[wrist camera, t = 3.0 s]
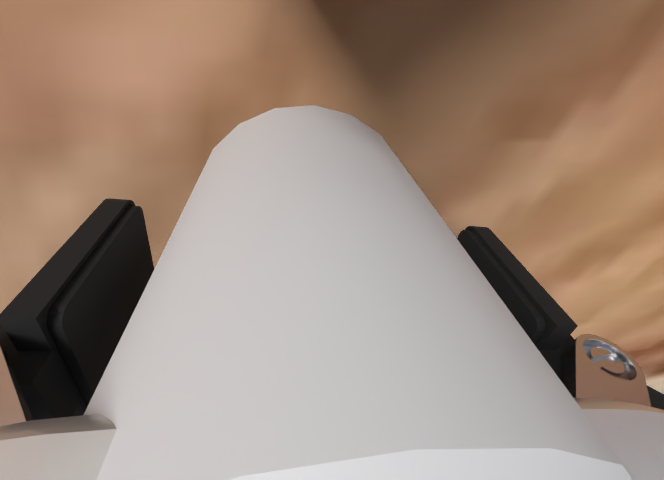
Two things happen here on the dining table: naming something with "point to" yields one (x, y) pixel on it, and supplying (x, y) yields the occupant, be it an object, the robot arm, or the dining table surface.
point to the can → (329, 332)
